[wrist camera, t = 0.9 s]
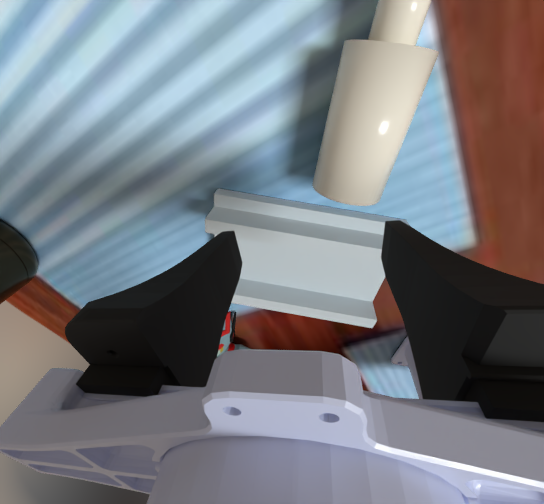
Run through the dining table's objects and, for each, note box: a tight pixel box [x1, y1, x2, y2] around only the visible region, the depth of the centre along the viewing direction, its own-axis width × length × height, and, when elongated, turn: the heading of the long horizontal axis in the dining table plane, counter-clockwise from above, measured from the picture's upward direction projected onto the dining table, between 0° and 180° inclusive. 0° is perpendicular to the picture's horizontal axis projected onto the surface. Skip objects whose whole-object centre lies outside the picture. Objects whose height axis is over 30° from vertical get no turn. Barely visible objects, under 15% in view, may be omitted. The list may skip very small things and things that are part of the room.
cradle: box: [205, 188, 410, 328], centre depth 23 cm, size 16×11×4 cm
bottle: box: [312, 0, 439, 206], centre depth 15 cm, size 11×5×5 cm, turn 173°
